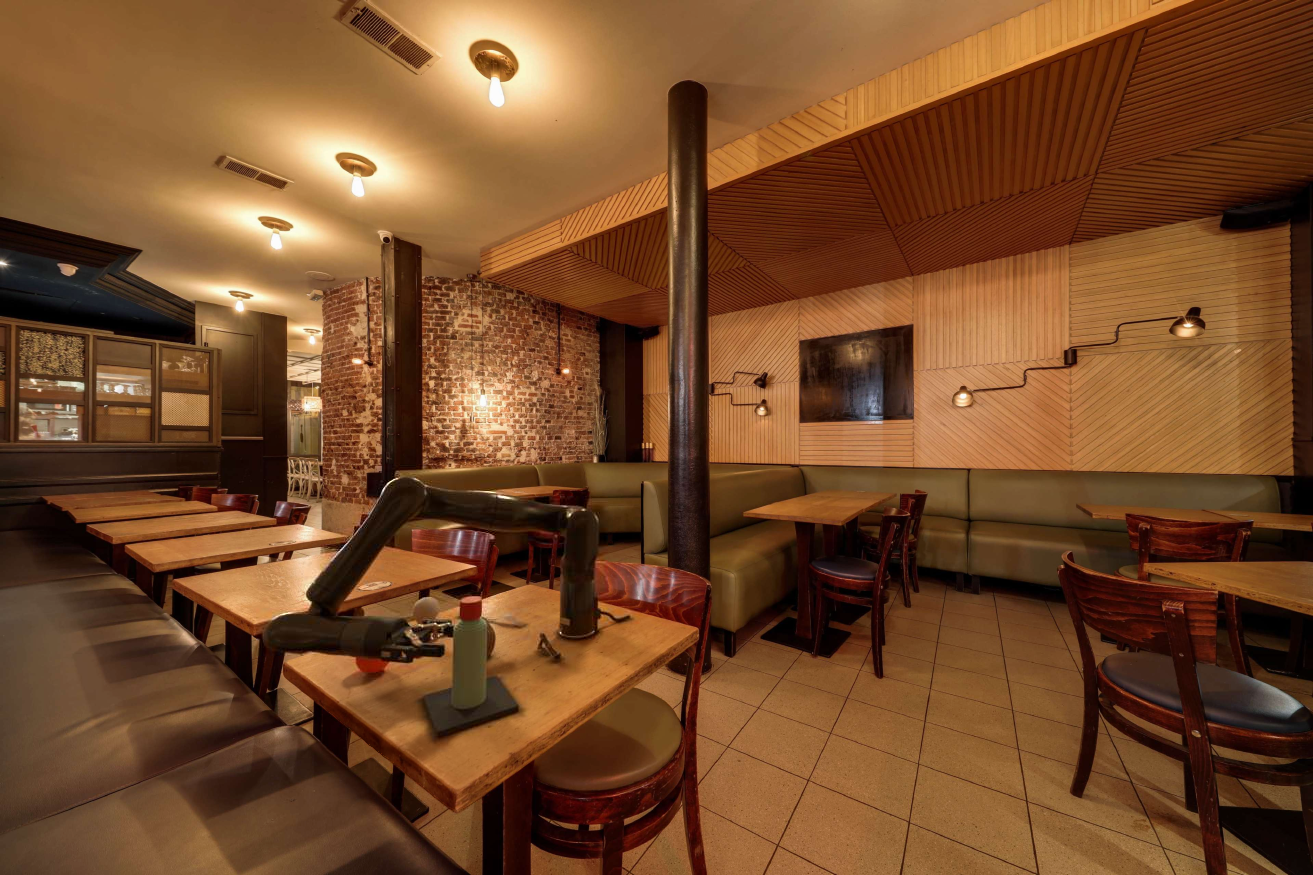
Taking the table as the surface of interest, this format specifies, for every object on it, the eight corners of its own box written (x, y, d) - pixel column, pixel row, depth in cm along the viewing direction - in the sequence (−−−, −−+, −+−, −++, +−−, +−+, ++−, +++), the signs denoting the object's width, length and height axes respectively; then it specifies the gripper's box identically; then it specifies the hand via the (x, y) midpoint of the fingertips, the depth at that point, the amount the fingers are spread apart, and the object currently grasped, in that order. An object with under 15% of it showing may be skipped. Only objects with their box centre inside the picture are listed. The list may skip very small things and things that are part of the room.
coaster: (496, 679, 97) (496, 674, 97) (518, 710, 85) (518, 705, 85) (422, 700, 88) (423, 695, 88) (436, 738, 77) (437, 732, 77)
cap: (478, 611, 90) (479, 594, 90) (484, 617, 87) (484, 600, 87) (457, 615, 88) (457, 598, 88) (462, 622, 84) (462, 604, 85)
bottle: (481, 688, 91) (483, 595, 91) (489, 702, 86) (491, 603, 87) (448, 697, 88) (450, 600, 88) (455, 712, 83) (457, 609, 83)
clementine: (382, 680, 96) (383, 646, 96) (346, 683, 94) (346, 648, 95) (397, 663, 103) (398, 631, 104) (364, 665, 102) (364, 633, 102)
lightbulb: (418, 636, 118) (419, 593, 118) (442, 636, 118) (443, 593, 118) (407, 647, 112) (408, 601, 112) (433, 646, 112) (434, 601, 112)
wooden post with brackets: (540, 644, 112) (544, 629, 111) (556, 668, 107) (561, 652, 105) (533, 646, 110) (537, 631, 109) (550, 670, 105) (555, 655, 104)
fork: (464, 622, 133) (463, 613, 134) (525, 624, 127) (524, 613, 127) (457, 626, 131) (456, 616, 131) (519, 627, 124) (518, 617, 124)
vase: (484, 664, 103) (485, 625, 103) (457, 661, 104) (458, 622, 105) (501, 651, 110) (501, 614, 110) (475, 648, 111) (475, 612, 111)
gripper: (348, 632, 81) (435, 636, 80) (399, 604, 96) (474, 608, 94) (347, 674, 81) (434, 679, 80) (398, 641, 95) (473, 644, 94)
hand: (455, 640), depth 87 cm, fingers open, 8 cm apart
